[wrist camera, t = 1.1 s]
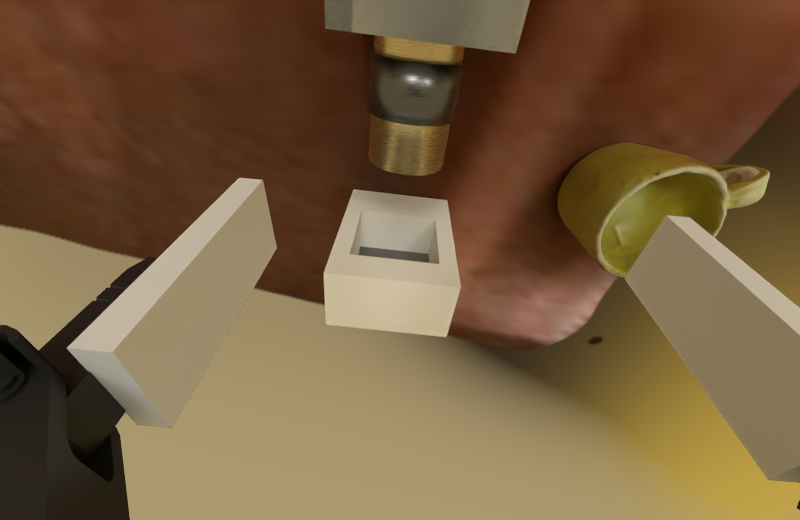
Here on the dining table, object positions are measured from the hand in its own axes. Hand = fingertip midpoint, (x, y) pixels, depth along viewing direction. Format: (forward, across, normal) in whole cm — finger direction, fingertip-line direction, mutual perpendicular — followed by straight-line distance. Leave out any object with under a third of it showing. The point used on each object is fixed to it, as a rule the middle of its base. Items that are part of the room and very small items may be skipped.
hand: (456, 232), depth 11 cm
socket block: (+19, -2, -11) cm, 22 cm away
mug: (+19, +18, -5) cm, 27 cm away
